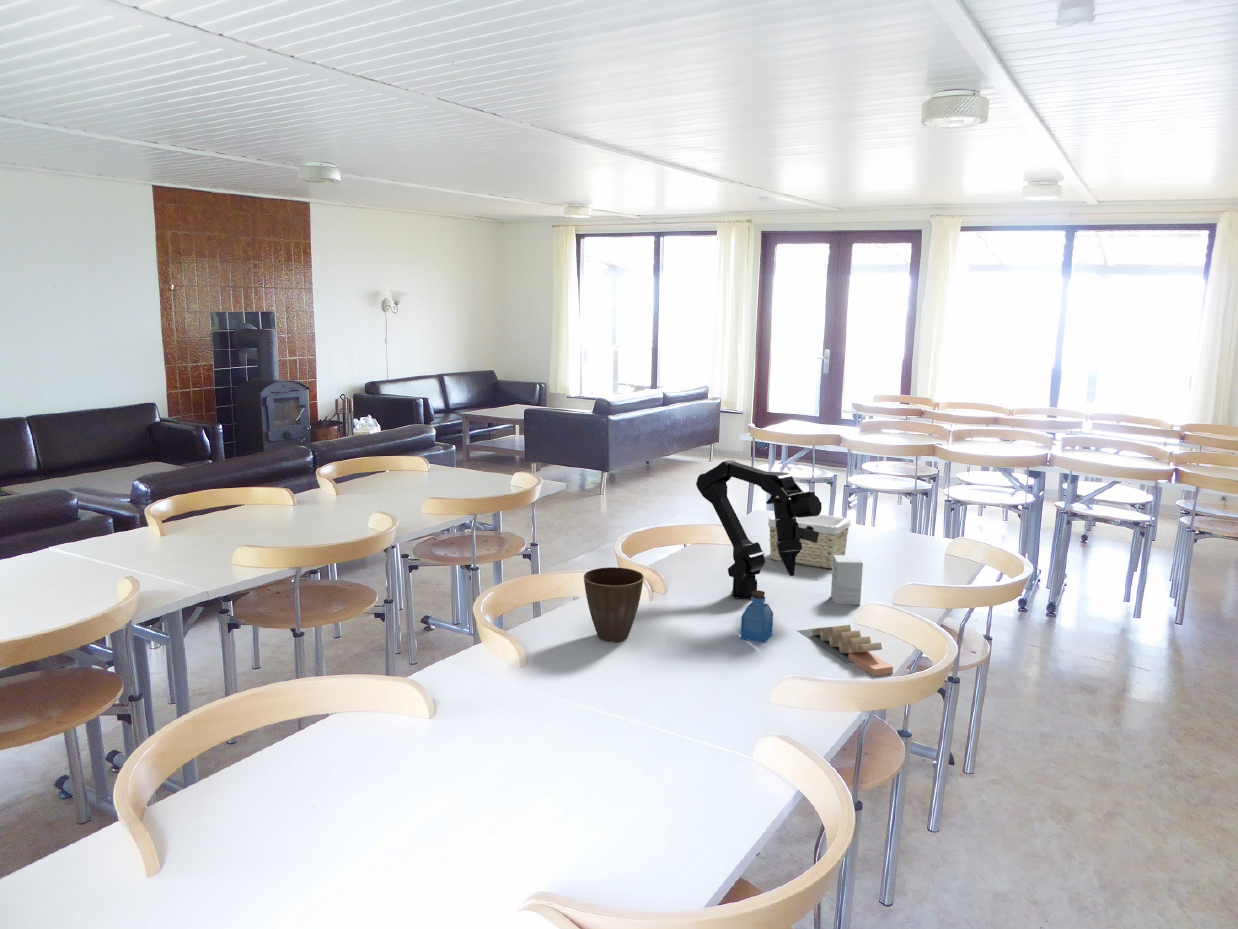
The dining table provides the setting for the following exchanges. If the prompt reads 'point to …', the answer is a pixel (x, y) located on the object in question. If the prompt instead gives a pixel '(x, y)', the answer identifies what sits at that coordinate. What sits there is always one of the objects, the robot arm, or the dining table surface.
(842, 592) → the supplement box
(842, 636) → the domino
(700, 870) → the dining table surface
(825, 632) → the domino
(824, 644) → the mat
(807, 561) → the storage basket
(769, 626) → the perfume bottle
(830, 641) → the domino
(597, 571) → the plant pot
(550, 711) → the dining table surface
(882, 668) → the domino
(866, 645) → the domino
